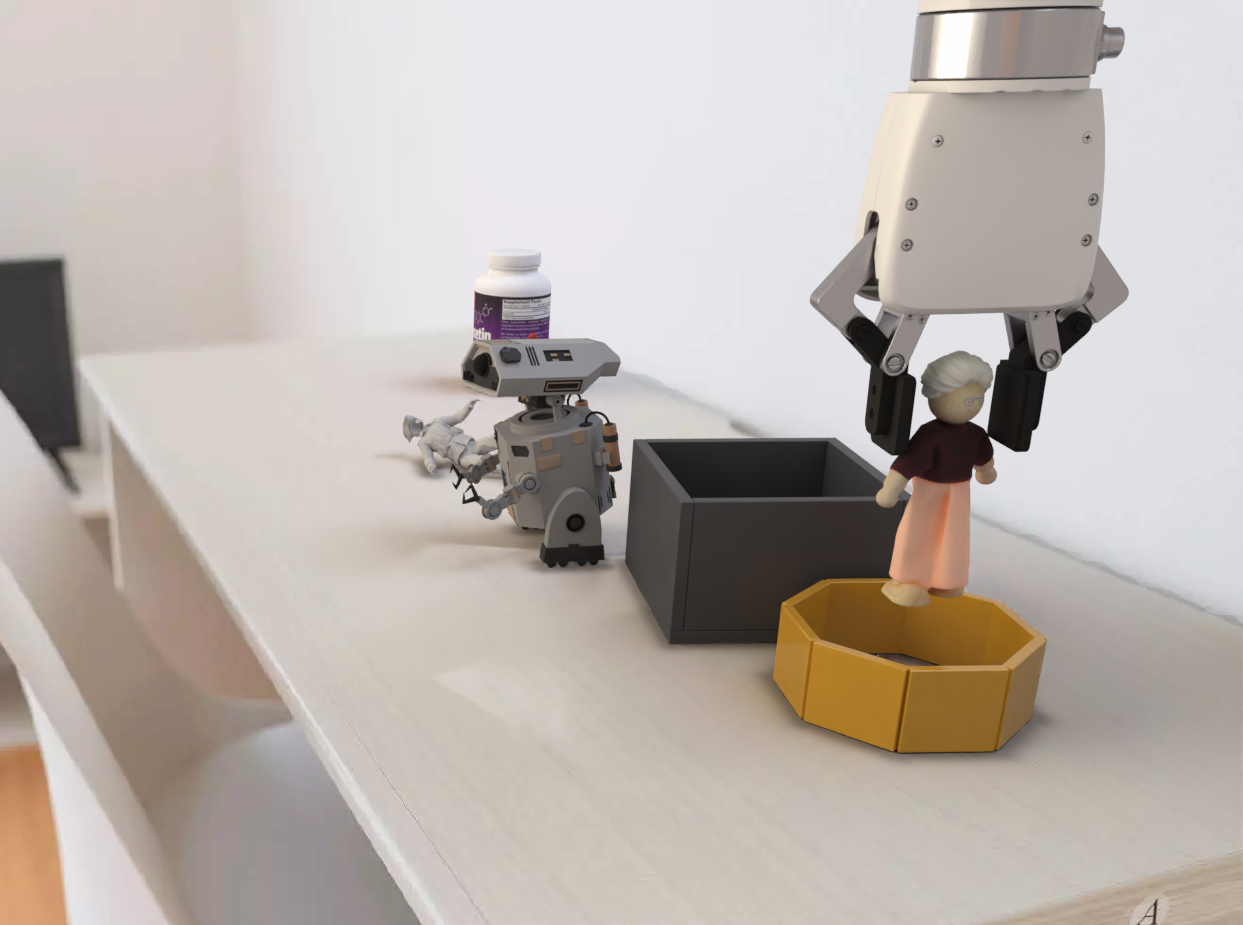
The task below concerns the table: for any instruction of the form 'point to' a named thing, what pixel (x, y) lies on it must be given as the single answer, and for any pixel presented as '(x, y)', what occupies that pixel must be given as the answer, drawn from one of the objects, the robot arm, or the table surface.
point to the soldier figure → (449, 439)
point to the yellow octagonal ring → (908, 667)
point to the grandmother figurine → (940, 483)
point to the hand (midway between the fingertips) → (948, 443)
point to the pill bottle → (512, 297)
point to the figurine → (548, 441)
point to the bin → (750, 529)
